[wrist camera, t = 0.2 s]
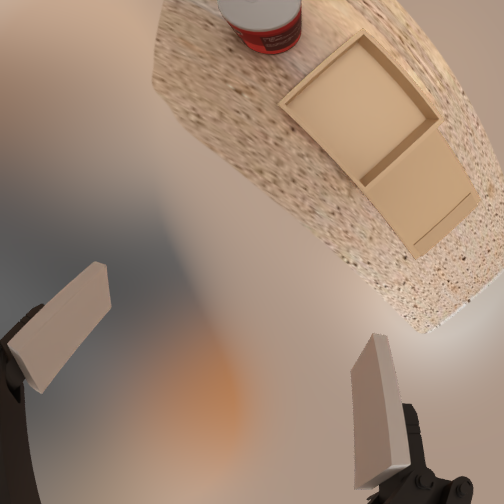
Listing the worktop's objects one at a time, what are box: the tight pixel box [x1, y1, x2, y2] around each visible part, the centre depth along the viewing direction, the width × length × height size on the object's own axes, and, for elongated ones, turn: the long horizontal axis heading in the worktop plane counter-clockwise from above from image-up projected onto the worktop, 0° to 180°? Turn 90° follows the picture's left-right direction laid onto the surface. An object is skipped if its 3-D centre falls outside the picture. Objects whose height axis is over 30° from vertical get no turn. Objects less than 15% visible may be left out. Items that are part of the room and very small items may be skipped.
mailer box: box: [277, 28, 481, 260], centre depth 31 cm, size 28×14×4 cm, turn 47°
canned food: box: [217, 0, 301, 54], centre depth 24 cm, size 8×8×11 cm
